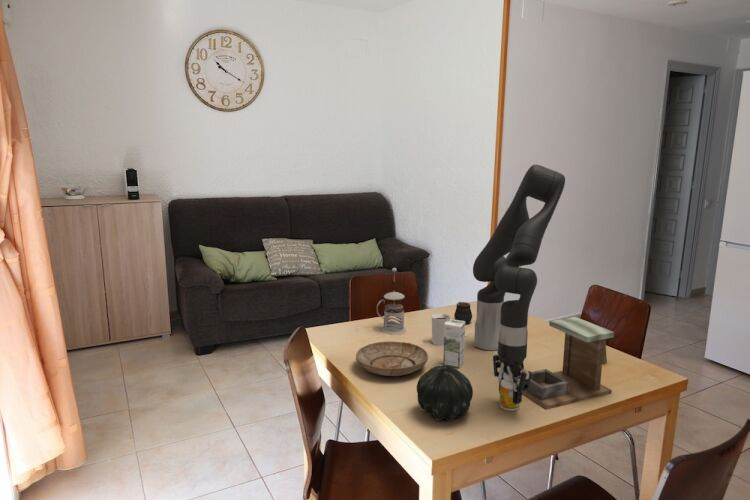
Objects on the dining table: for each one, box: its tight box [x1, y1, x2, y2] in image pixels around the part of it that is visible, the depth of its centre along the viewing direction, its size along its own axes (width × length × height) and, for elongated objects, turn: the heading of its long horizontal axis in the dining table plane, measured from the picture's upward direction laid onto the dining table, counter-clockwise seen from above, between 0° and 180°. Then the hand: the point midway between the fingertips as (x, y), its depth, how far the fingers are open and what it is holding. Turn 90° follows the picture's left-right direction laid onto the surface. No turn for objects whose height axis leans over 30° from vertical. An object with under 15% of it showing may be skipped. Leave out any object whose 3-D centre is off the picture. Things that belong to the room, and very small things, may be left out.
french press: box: [376, 267, 407, 336], centre depth 202 cm, size 10×12×25 cm
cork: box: [602, 339, 608, 365], centre depth 174 cm, size 6×6×11 cm
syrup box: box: [442, 318, 466, 369], centre depth 171 cm, size 6×6×14 cm
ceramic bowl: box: [355, 341, 429, 377], centre depth 169 cm, size 23×24×5 cm
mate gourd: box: [454, 301, 473, 325], centre depth 212 cm, size 7×8×10 cm
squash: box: [416, 365, 474, 422], centre depth 139 cm, size 14×15×15 cm
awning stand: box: [522, 316, 615, 410], centre depth 153 cm, size 24×16×18 cm, turn 113°
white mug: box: [431, 313, 451, 346], centre depth 190 cm, size 7×7×10 cm
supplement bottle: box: [498, 372, 521, 412], centre depth 143 cm, size 5×5×10 cm
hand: (509, 398), depth 143 cm, fingers closed on supplement bottle, 5 cm apart
